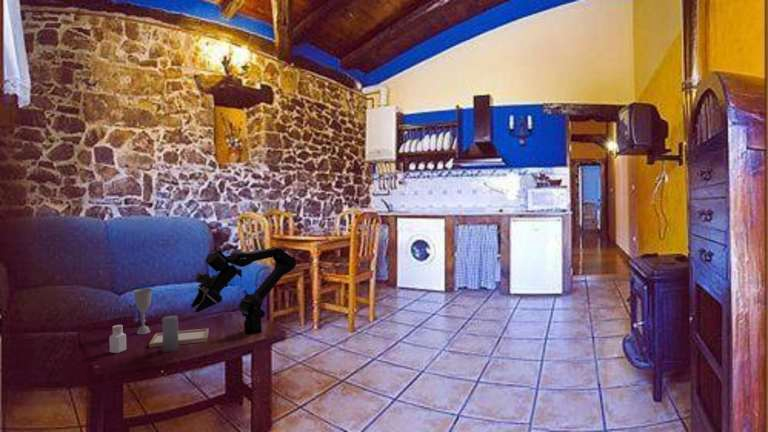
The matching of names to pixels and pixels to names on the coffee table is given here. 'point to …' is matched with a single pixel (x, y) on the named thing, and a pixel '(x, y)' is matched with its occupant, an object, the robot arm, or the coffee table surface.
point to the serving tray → (182, 337)
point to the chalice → (143, 306)
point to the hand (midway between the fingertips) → (193, 309)
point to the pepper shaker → (117, 339)
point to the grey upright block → (170, 333)
